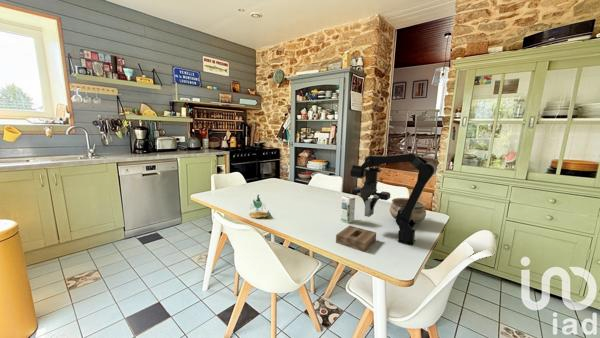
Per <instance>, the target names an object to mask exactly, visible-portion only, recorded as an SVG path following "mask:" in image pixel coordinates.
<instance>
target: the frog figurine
mask: <svg viewBox="0 0 600 338" xmlns="http://www.w3.org/2000/svg"><path fill="white" fill-rule="evenodd" d="M252 204H253V205H252ZM252 204H250V206H251V207H250V210H251V209H252V208H256V209H255V211H253V212H249V213H250V214H249V213H248V215H249V216H250V217H251V218H254V219H255V218H256V219H258V218H266V217H267V219H273V216H272V214H271V213H270V210H269V209H268V210H267V211H264V209H266V207H264V206H266V205H265V203H263V202H262V201H261V198H260V194H257V196H256V200H255V199H253V201H252ZM263 207H264V209H263ZM260 208H261V210H259V209H260ZM268 216H269V217H268Z"/></svg>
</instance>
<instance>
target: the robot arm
mask: <svg viewBox="0 0 600 338" xmlns="http://www.w3.org/2000/svg"><path fill="white" fill-rule="evenodd" d="M399 163H411V165H412V166H413V167H415V169H417V170H418V174H417V179H416V182H415V184H414V187H413V189H412V192H410V195H409V197H408V198H409V199H408V201H407V203H406V206H405V208H403V207H401V208H400V209H399V210H398V214H397V216H396V217H395V218H396V219H395V218H394V219H395V222H396V224H397V226H398V229H399V230H398V232H397V233H398V234H397V239H398V240H397V242H398V243H401V244H403V245H404V244H405V245H408V246H413V245H414V244H415V242H416V239H415V237H416V229H415V228H416V226H417V223H415V222H414V221H413V219H412V217H413V212H414V208H415V206H416V204H417V202H418V200H419V201H420V197H421V196H422V193H423V191H424V189H425V188H426V185H427V183H428V182H429V181H430V180H431V179H432V177H433V176H434V174H435V173H436V172H437V165H435V164H434V163H433V162H431V161H430V162H429V161H427V160H426V159H424V158H423V157H421V156H419V155H418V154H417V153H415V152H409V153H401V154H394V155H393V154H392V155H381V154H372V155H368V156H366V157H365V158H364V162H363V163H362V165H358V164H352V166H351V170H350V173H349V174H350V177H351V178H352V179H353V178H355V179H361V180H363V179H364V178H365V180H364V183H363V185H362V186H361V187H357V186H355V187H353V188H352V189H351V191H350V193H351V195H354V196H357V195H358V194H359V195H358V196H359V198H361V199H362V201H363V203H364V205H365V201H366V200H368V199H369V198H371V196H372V198H371V199H372V206H371V210H373V208H374V209H375V206H376V204H377V203H378V201H379V200H381V201H382V200H383V201H388V200H390V198H391V193H390V191H389V192H387V191H383V190H382V191H381V192H378V189H377V188H378V187H377V186H378V173H381V172H383V170H382V169H381V168H380V166H381V165H385V164H386V165H387V164H399Z"/></svg>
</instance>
